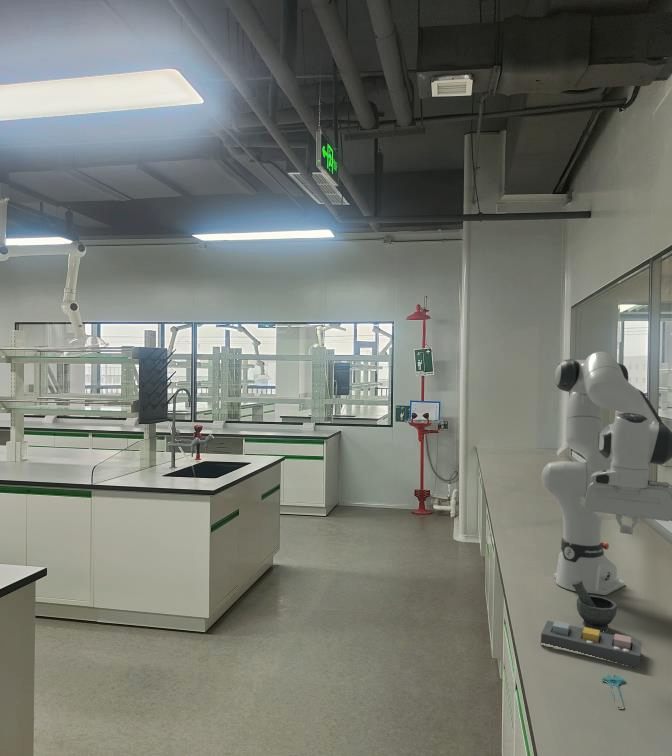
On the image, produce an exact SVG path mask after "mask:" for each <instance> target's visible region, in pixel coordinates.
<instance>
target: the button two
mask: <svg viewBox="0 0 672 756" xmlns="http://www.w3.org/2000/svg"><path fill="white" fill-rule="evenodd" d="M614 635H615V636H614V646H616V647H620V648H625V649H629V650H630V648H631V639H632V636H628V635H624V634H619V633H614Z"/></svg>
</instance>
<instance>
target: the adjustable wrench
mask: <svg viewBox="0 0 672 756" xmlns="http://www.w3.org/2000/svg"><path fill="white" fill-rule="evenodd" d="M602 680H604V681H607V682H608V683H609V684H610V685H611V687H610V689H611V688H612V689H613V687H612V686H616V687H617V689H618V692H619V696H620V698H621V700H622V701H623V698H622V694H621V690H620V686H619V685H620V684H621V683H622V684H625V683H626V684H627V681H626V680H625V678H622V677H620V676H619V675H616V674H613V677H612V676H611V674H607V675H606V676H605V677H602V679H601V681H602ZM608 683H607V684H608ZM612 683H613V684H612ZM609 684H608V685H609ZM622 684H621V685H622ZM610 685H609V686H610ZM613 695H614V693H613ZM613 695H612V696H613ZM614 697H615V695H614Z"/></svg>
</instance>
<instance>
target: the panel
mask: <svg viewBox="0 0 672 756" xmlns="http://www.w3.org/2000/svg"><path fill="white" fill-rule="evenodd" d="M554 622H555V621H551V620H547V621H546V623H545V624H544V627H543V629H542V631H541V633H540V634H541V635H540V644H541V643H545V644H550V645H553V646H558V647H561V648H566V649H569V650H573V651H578V652H581V653H584V654H588V655H592V656H595V657H599V658H603V659H606V660H610V661H613V662H617V663H620V664H619V665H621V664H624V665H623V666H625V665H628V666H627V667H630V666H632V667H631V668H634V667H637V668H636V669H638V668H639V669H640V666H641V665H640V664H641V657H640V656H642V640H639V639H633V638H631V648H630V650H629V649H625V648H620V647H616V646H614V636H615V634H611V633H607V632H604V633H602V632H600V639H599V643H598V642H594V641H589V640H585V639H582V634H583V629H584V627H578V626H573V625H570V632H569V635H568V636H567V635H563V634H558V633H554V632H552V629H553V624H554ZM613 662H612V663H613ZM617 663H616V664H617Z"/></svg>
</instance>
